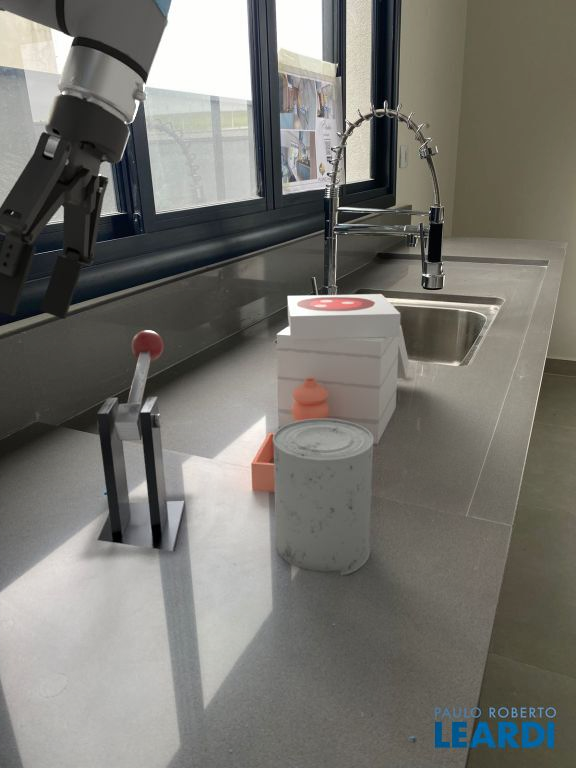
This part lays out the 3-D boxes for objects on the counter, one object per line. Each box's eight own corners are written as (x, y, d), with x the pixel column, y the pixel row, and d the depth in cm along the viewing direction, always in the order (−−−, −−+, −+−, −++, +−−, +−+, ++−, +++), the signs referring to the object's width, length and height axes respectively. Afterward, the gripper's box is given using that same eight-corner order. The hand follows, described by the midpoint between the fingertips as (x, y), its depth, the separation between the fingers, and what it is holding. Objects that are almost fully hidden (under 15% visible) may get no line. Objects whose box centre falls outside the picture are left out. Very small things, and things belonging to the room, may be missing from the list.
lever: (136, 349, 72) (131, 324, 70) (166, 349, 72) (163, 323, 70) (112, 445, 60) (105, 418, 57) (149, 444, 60) (143, 417, 57)
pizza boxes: (418, 384, 109) (424, 284, 103) (388, 452, 82) (394, 322, 76) (316, 374, 115) (316, 279, 109) (257, 435, 88) (254, 313, 82)
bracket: (114, 512, 68) (99, 389, 64) (185, 509, 69) (175, 386, 64) (91, 565, 59) (71, 425, 54) (173, 562, 59) (161, 423, 54)
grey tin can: (264, 532, 64) (261, 425, 60) (347, 517, 67) (350, 413, 63) (291, 587, 55) (290, 466, 51) (386, 567, 58) (391, 450, 54)
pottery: (332, 502, 70) (332, 423, 67) (252, 495, 72) (249, 418, 68) (347, 439, 86) (348, 374, 83) (282, 435, 88) (281, 371, 85)
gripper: (94, 69, 48) (11, 323, 49) (155, 159, 72) (98, 326, 74) (2, 34, 47) (-79, 291, 49) (95, 137, 72) (40, 305, 74)
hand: (28, 313), depth 61 cm, fingers open, 13 cm apart
